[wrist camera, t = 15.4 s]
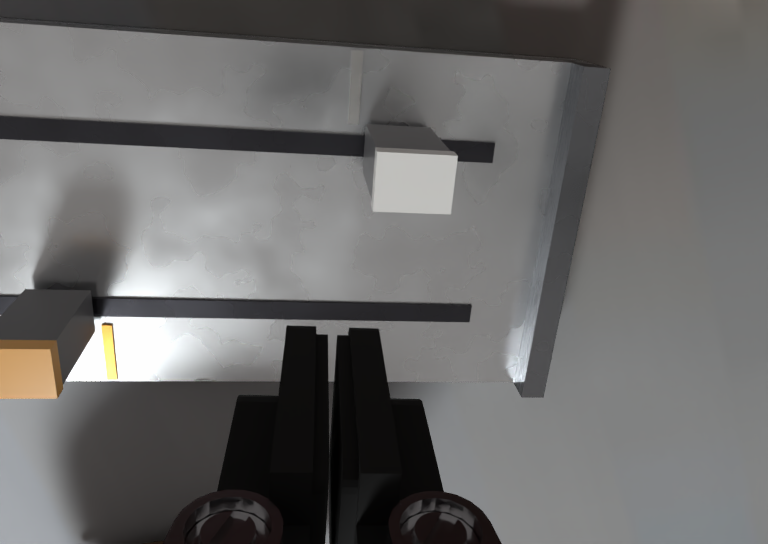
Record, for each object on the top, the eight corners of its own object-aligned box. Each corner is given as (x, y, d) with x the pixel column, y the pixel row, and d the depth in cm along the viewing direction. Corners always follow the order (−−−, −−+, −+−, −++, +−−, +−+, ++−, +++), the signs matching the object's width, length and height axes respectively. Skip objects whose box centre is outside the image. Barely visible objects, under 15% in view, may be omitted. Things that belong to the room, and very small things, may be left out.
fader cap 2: (431, 126, 24) (457, 155, 20) (426, 176, 25) (451, 214, 21) (364, 122, 24) (377, 151, 20) (361, 173, 25) (372, 211, 21)
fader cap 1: (92, 289, 25) (50, 349, 21) (96, 332, 26) (57, 398, 22) (23, 287, 25) (-33, 348, 21) (30, 331, 26) (-23, 398, 22)
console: (576, 59, 26) (610, 68, 23) (521, 359, 32) (543, 397, 29) (-132, 8, 23) (-195, 11, 20) (-56, 354, 28) (-97, 397, 25)
